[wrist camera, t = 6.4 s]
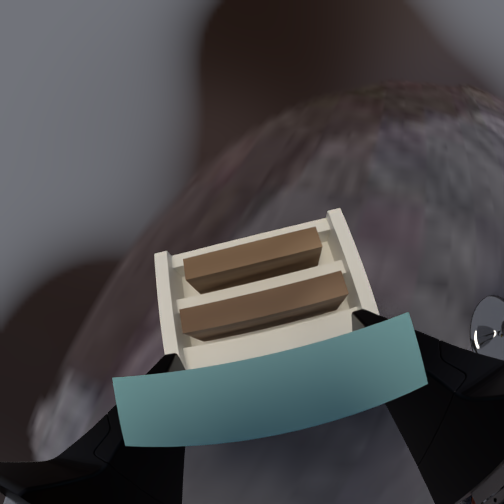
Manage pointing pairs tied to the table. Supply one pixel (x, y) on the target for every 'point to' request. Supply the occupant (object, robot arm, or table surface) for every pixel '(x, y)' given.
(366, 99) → the table surface
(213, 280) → the walnut offcut
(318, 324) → the offcut rack
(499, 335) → the wine glass
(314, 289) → the walnut offcut
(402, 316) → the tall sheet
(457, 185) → the table surface
